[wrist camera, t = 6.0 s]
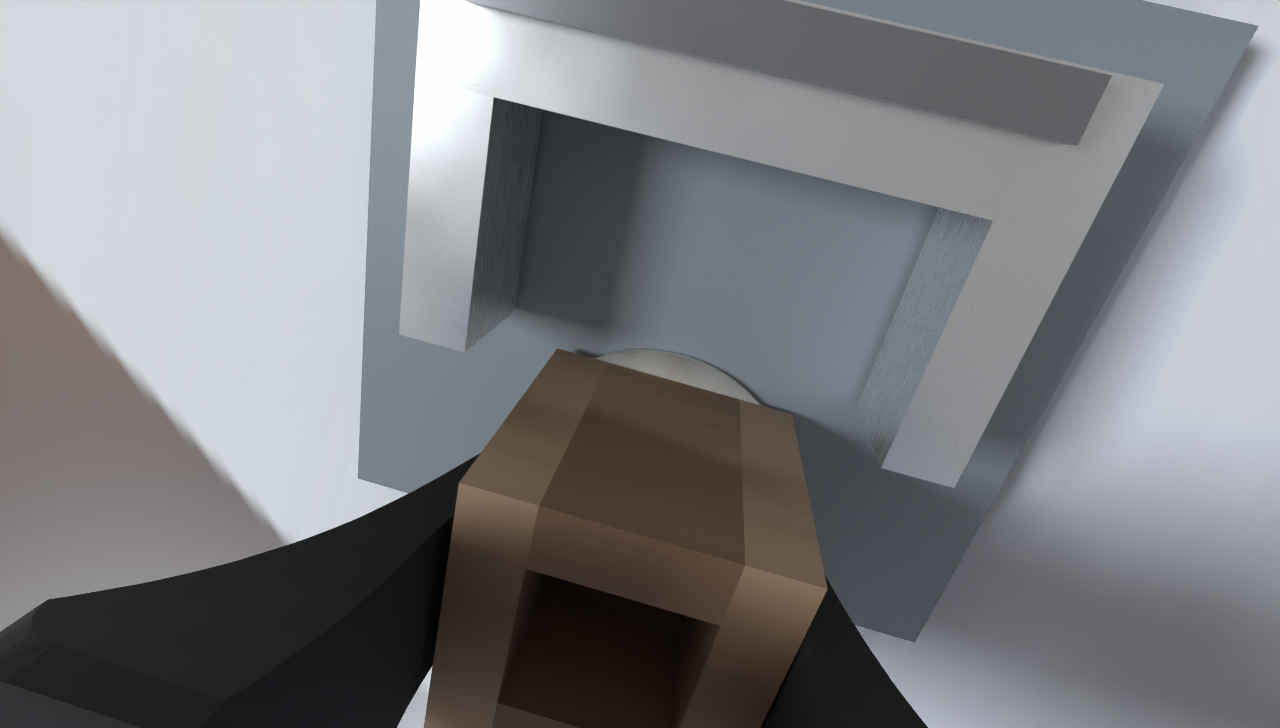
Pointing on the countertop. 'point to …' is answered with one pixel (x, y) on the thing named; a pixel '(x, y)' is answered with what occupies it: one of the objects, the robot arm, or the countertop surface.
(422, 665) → the robot arm
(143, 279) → the countertop surface
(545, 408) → the brown hollow square block
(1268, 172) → the countertop surface
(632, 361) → the pin
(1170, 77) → the board
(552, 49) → the grey u-shaped bracket
